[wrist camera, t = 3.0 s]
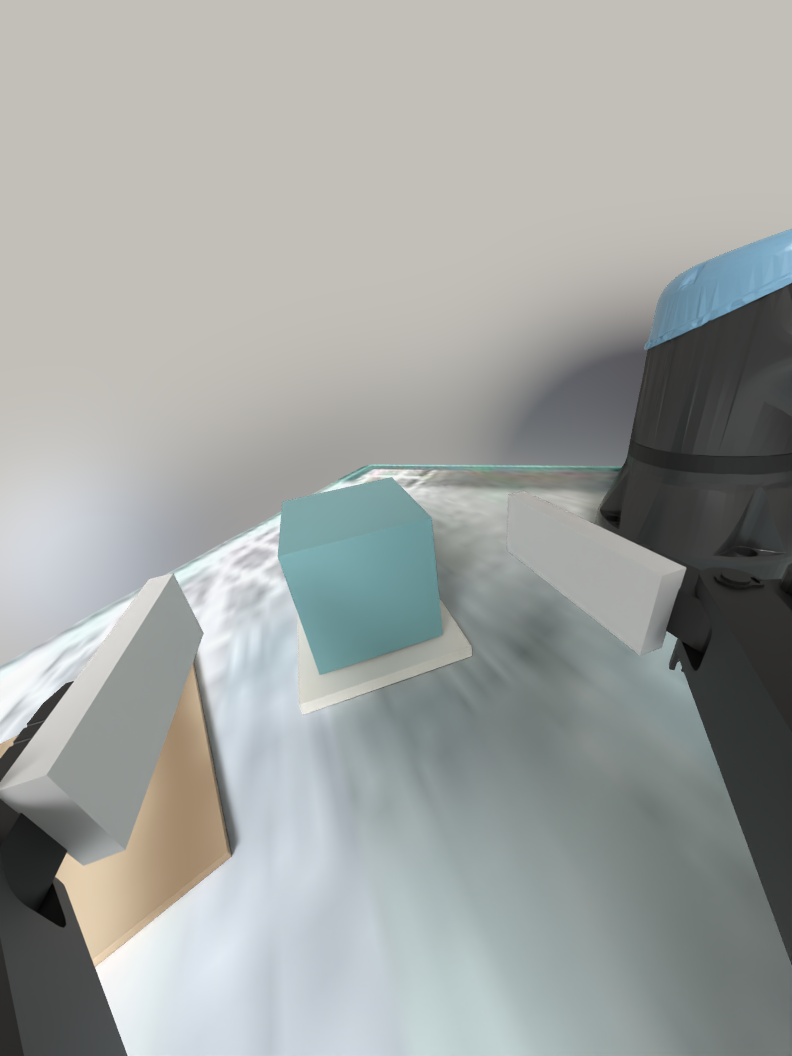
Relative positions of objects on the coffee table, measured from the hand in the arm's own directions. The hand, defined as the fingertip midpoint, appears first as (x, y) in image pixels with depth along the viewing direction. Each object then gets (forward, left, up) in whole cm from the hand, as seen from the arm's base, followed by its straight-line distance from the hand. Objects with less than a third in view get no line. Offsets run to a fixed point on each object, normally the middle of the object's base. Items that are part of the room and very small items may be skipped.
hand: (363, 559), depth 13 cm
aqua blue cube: (-4, -9, -11) cm, 15 cm away
